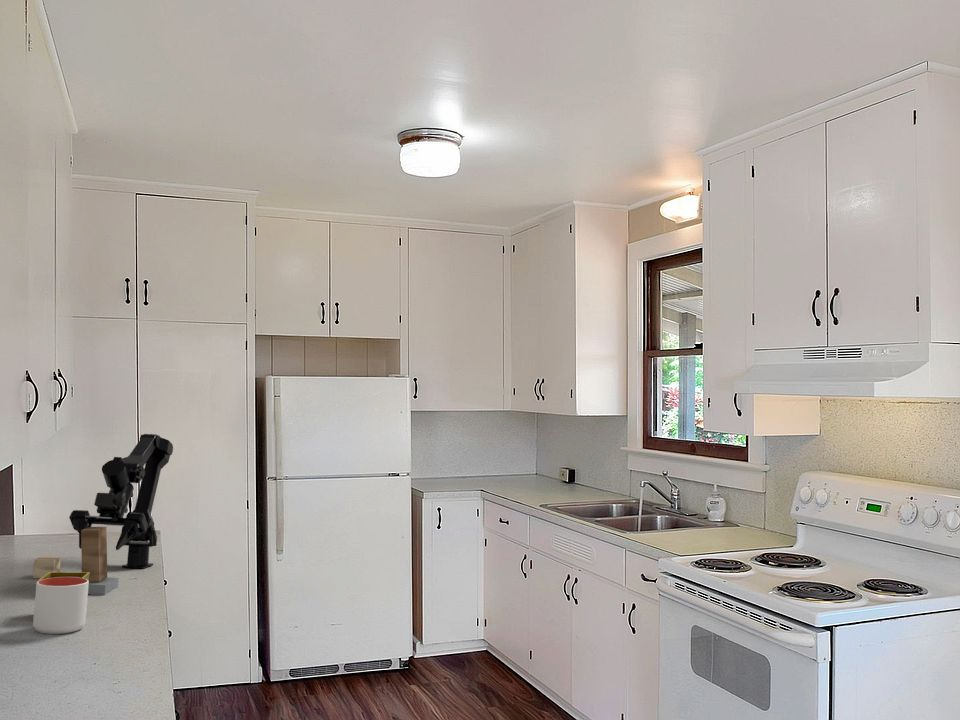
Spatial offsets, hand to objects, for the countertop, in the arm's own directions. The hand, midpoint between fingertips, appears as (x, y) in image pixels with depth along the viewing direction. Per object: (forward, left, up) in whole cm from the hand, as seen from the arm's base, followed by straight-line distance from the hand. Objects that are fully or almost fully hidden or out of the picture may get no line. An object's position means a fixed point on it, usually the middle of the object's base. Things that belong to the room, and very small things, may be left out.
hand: (98, 548), depth 221 cm
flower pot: (+27, +8, -11) cm, 30 cm away
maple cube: (-9, -20, -10) cm, 24 cm away
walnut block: (+1, 0, -8) cm, 8 cm away
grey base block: (+1, 0, -11) cm, 11 cm away
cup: (+37, +14, -11) cm, 41 cm away
